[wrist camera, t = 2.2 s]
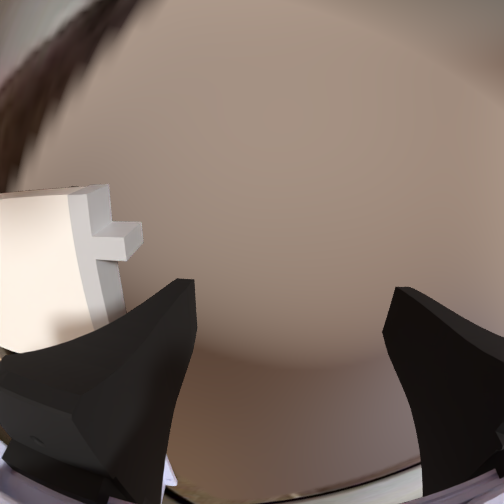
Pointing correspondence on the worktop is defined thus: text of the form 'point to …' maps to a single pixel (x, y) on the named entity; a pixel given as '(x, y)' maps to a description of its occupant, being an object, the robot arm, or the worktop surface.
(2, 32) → the worktop surface
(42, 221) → the white tabbed block
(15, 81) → the worktop surface
